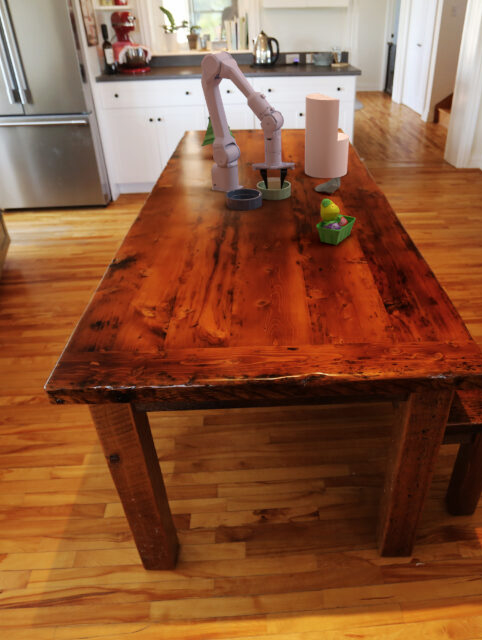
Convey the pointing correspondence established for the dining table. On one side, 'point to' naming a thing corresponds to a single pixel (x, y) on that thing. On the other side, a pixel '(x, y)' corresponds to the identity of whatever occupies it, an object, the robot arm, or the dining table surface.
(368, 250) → the dining table surface
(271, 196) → the sage bowl
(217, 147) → the robot arm
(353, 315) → the dining table surface
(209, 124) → the decorative tree
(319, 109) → the cylinder
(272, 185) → the block
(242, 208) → the slate bowl
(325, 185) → the stone
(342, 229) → the fruit basket
